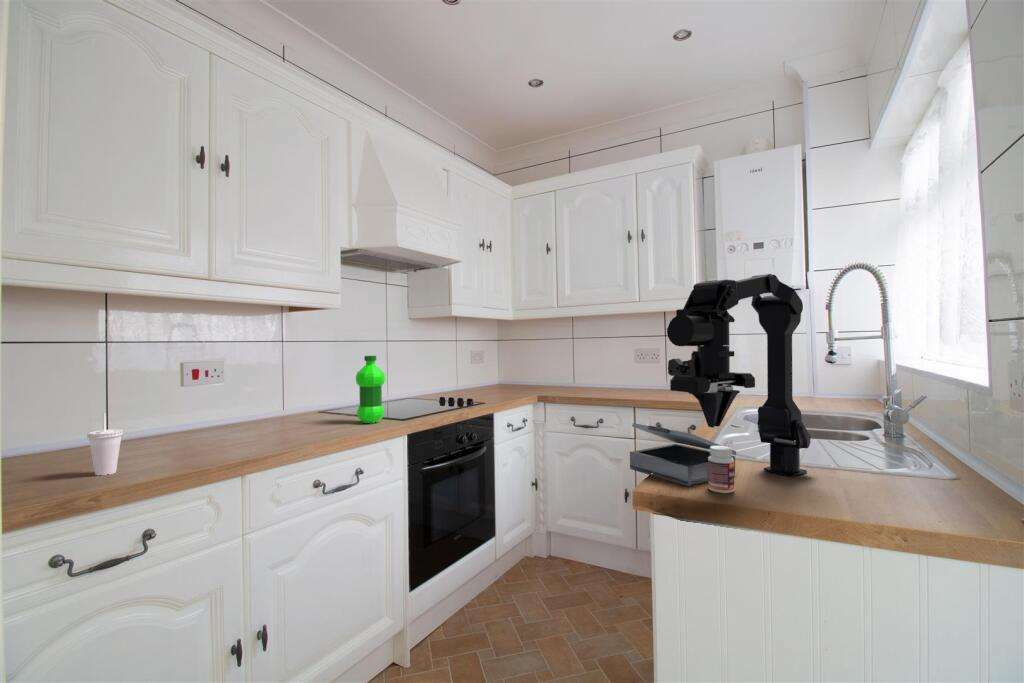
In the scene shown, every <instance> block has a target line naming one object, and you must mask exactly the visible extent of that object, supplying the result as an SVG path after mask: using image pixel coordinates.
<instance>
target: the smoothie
mask: <svg viewBox="0 0 1024 683" xmlns="http://www.w3.org/2000/svg"><path fill="white" fill-rule="evenodd" d="M106 414H107V412H103V413H102V429H101V430H94V431H91V432H87V437H86V438H87V439H89V447H90V454H91V457H92V463H93V471H94V475H95V476H96V475H97V477H99V475H102V476H108V475H107V474H109V475H112V474H115V473H116V472H117V470H118V469H117V468H118V461H119V455H120V447H121V441H122V435H124V430H123V429H122V428H120V429H119V428H113V429H112V428H110V429H106V428H107V426H106V425H107V421H106V420H107V415H106Z"/></svg>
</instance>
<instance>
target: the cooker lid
mask: <svg viewBox="0 0 1024 683" xmlns="http://www.w3.org/2000/svg"><path fill="white" fill-rule="evenodd" d="M631 427H633V428H635V429H638V430H641V431H644V432H646V433H649V434H651V435H653V436H657V437H659V438H662V439H665V440H667V441H670V442H673V443H675V444H680V445H684V446H689V447H694V448H699V449H703V450H708V451H710V447H711V446H722V445H721V444H719V443H715V442H714V441H711V440H708V439H706V438H704V437H700V436H699V435H696V434H693V433H688V432H683V431H677V430H673V429H669V428H665V427H660V426H654V425H645V424H641V423H640V424H639V423H634V422H632V424H631ZM736 455H737V451H736V450H733V449H732V456H736Z"/></svg>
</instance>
